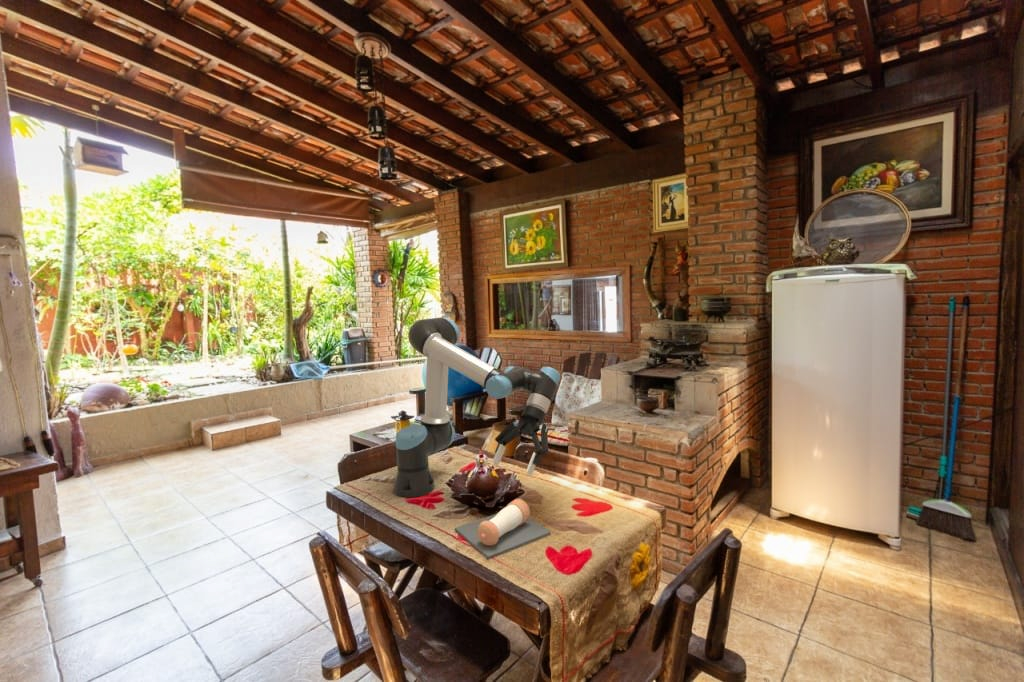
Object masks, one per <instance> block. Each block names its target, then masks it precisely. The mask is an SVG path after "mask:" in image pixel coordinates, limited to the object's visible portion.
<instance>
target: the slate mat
mask: <svg viewBox="0 0 1024 682" xmlns="http://www.w3.org/2000/svg"><path fill="white" fill-rule="evenodd" d="M498 513H499V512H497V513H495V514H491V515H489V516H486V517H483V518H480V519H477V520H474V521H472V522H469V523H465V524H463V525H459V526H456V527H454V531H455V532H456V533H457V534H459V536H461V537H462V538H463V539H464V540H465V542H468V543H469V544H470V545H471V546H472V547H473V548H474V549H475V550H477V551H478V553H480V554H481V555H482V554H483V555H484V556H483V557H485V559H487V560H491V559H493V558H495V556H496V557H498V556H501V555H502V554H505V553H508V552H510V551H513V550H515V549H518V548H521V547H523V546H525V545H528V544H530V543H533V542H535V541H537V540H540V539H543V538H546V537H547V536H550V535H552V531H551V530H548V529H547V527H544V526H543V525H541V524H539V523H538V522H536V521H535V520H533V519H531V517H529V519H528V520H527V521H526V522H524V523H523V524H522V525H520V526H517V527H516V528H515V529H513V530H511V531H509V532H506V533H505V534H503V535H502V536H501V537H499V539H498V541H497V543H496V544H494V545H492V546H488V545H485V544H483V543H482V542H481V540H480V539H479V537H478V527H479V525H480V524H481V522H483V521H489V520H491V519H492V518H494V517H495V516H496V515H497V514H498ZM490 558H491V559H490Z"/></svg>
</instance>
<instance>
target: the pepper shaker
mask: <svg viewBox="0 0 1024 682" xmlns="http://www.w3.org/2000/svg"><path fill="white" fill-rule="evenodd" d="M497 513H498V514H497ZM497 513H496V514H497V515H496V516H495V517H494V518H492V519H491V520H489V521H483V522H481V524H480V525H479V527H478V537H479V539H480V540H481V542H482V543H483V544H485V545H488V546H492V545H494V544H496V543H497V541H498V539H499V537H501V536H502V535H503V534H505V533H506V532H509V531H511V530H513V529H515V528H516V527H517V526H520V525H522V524H523V523H524V522H526V521H527V520H528V519H529V518H531V517H530V516H531V510H530V507H529V505H528V504H527V503H526V502H525V500H523V499H521V498H515V499H514V500H511V502H509V503H507V504H506V506H505V507H504V508H502V509H501V510H500V511H499V512H497Z"/></svg>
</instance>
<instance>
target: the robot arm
mask: <svg viewBox="0 0 1024 682" xmlns="http://www.w3.org/2000/svg"><path fill="white" fill-rule="evenodd" d="M407 335H408V336H407V337H408V342H409V344H410V346H411V347H412V348H413V349H414V350H415V351H416V352H418V353H419V354H421V355H423V356H424V357H426V370H425V371H426V374H425V375H426V376H425V395H424V396H425V400H424V402H425V403H424V414H423V415H422V417H421V418H420V424H412V425H408V426H404V427H402V428H401V429H399V430H398V431H397V433H396V434H395V445H394V446H395V450H396V451H395V452H396V467H397V473H396V475H395V481H394V484H393V493H394V494H395V495H396V496H398V497H403V498H416V497H420V496H424V495H426V494H429V493H430V492H432V491H433V490H434V489H435V479H434V477H433V474H432V471H431V470H430V464H429V457H430V456H432V455H434V454H436V453H438V452H439V451H444V450H445V449H446V448H448V447H449V446H450V445H452V444H453V441H454V439H455V434H456V433H455V426H453V423H452V421H451V418H450V417H449V416H448V415H447V412H448V411H447V410H448V409H447V408H448V405H447V404H448V389H449V388H448V384H449V368H450V369H452V370H454V371H456V372H458V373H459V374H461V375H463V376H464V377H466V378H468V379H470V380H472V381H473V382H475V383H476V384H478V385H480V386H482V387H483V388H485V391H486V393H487V394H488V396H489V397H490V398H492V399H495V400H497V399H498V400H500V399H504V398H507V397H508V396H510V395H512V394H515V393H517V392H520V391H524V392H528V393H530V395H529V396H528V399H527V401H526V403H525V407H523V408H524V409H523V410H522V413H521V418H520V420H518V419H516V418H515V417H513V418H512V419H511V420H510V422H509V423H508V425H506V427H504V429H503V430H502V431H500V433H499V434H497V436H496V437H495V438H494V441H496V442H497V443H498V444H497V446H496V449H495V451H494V453H495V454H494V457H493V459H492V462H491V463H493V464H494V465H495V466H499V465H500V463H501V460H502V458H503V455H504V453H505V450H506V449H507V448H506V446H507V445H508V444H509V443H510V442H512V441H513V440H515V439H516V438H517V437H519V436H520V437H521V436H522V435H523V436H528V437H530V438H531V439H532V443H533V445H534V449H535V451H534V452H533V453H532V455H531V457H530V460H529V462H528V466H527V468H526V470H525V473H526V474H528V475H529V476H531V477H532V476H533V473H534V471H535V469H536V466H538V465H539V464H540V461H541V458H542V456H549V455H550V454H549V439H548V438H549V437H548V433H549V428H550V427H548V426H547V425H546V423H543V422H544V421H545V418H546V415H547V413H548V410H549V408H550V405H551V403H552V401H553V398H554V396H555V393H556V391H557V388H558V386H559V383H560V380H561V373H560V372H559V371H558V370H556V369H555V368H553V367H550V366H542V367H541V369H540V370H539V371H534V370H531V369H526V368H522V367H519V366H512V365H511V366H508V367H506V369H505V370H504V371H502V370H499V369H498V368H496V367H494V366H493V365H491V364H489V363H487V362H485V361H484V360H482V359H480V358H478V357H476V356H475V355H473V354H471V353H470V352H468V351H466V350H464V349H462V348H461V347H459V346H458V345H456V344H457V343H458V341H459V338H460V330H459V327H458V325H457V324H456V323H455V321H453V320H452V319H450V318H448V317H434V318H427V319H426V318H423V319H418V320H416V321H415V322H413V323H412V325H410V328H409V329H408V334H407ZM539 431H540V440H541V442H540V440H539V435H538V432H539Z"/></svg>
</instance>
